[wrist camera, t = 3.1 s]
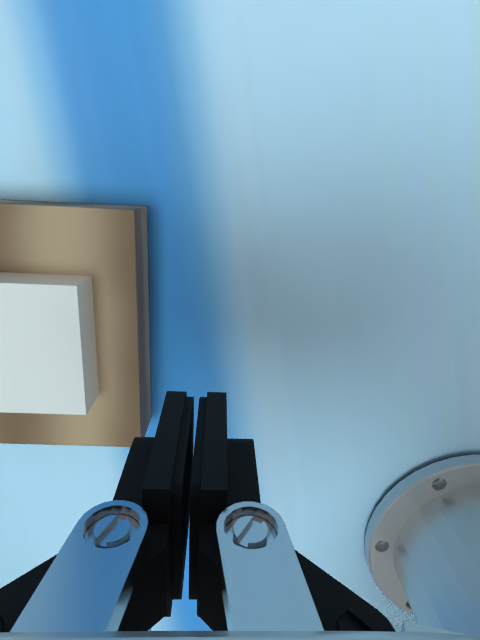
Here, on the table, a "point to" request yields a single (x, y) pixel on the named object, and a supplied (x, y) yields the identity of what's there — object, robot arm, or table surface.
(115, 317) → the block
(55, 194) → the table surface
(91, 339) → the tile
